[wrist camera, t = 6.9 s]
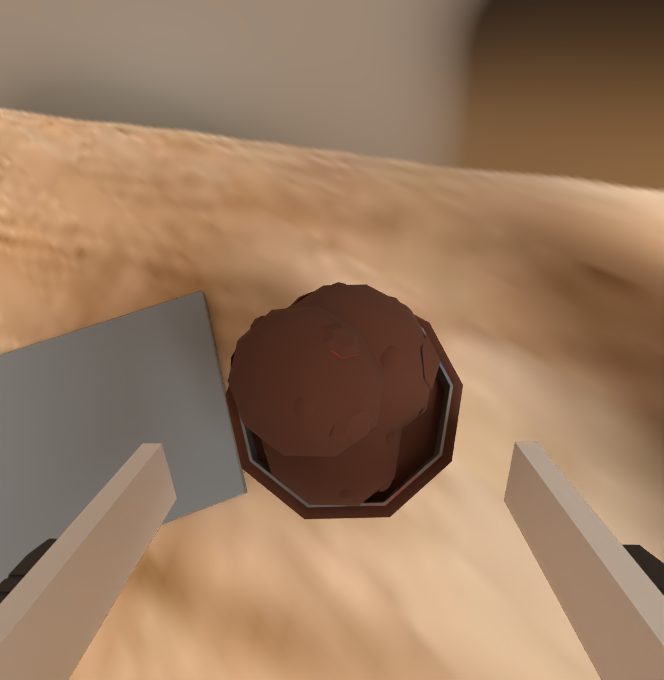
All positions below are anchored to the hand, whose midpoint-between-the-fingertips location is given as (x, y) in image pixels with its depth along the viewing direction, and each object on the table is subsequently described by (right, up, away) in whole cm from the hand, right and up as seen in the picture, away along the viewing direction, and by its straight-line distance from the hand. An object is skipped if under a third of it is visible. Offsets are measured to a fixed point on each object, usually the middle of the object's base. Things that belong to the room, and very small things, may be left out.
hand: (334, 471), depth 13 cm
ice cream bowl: (+1, -1, +12) cm, 12 cm away
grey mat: (-18, -1, +13) cm, 22 cm away
